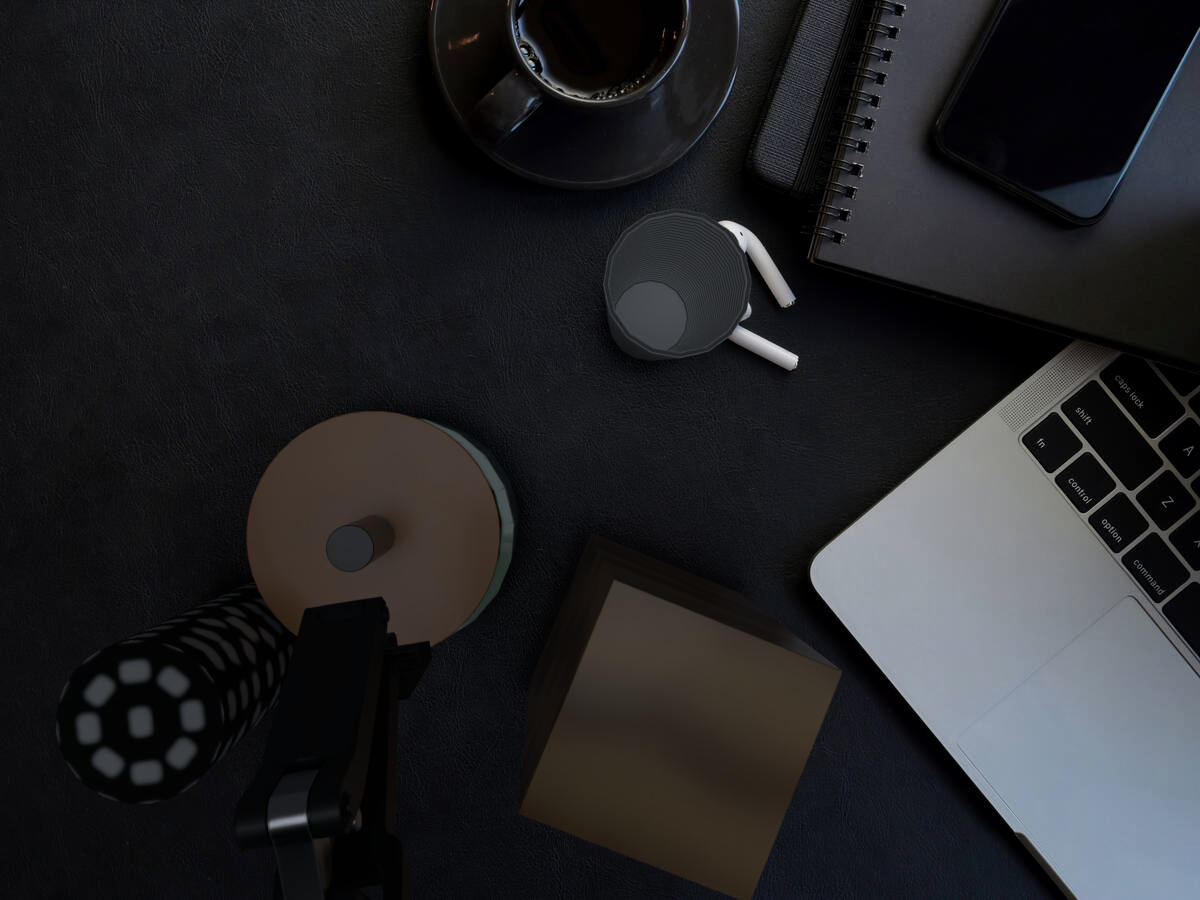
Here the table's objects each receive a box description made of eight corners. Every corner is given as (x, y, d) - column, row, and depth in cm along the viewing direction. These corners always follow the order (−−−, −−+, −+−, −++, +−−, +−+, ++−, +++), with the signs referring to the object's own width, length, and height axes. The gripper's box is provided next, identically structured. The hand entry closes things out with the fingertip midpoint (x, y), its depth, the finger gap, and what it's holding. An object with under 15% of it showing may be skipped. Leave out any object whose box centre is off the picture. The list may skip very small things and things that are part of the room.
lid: (431, 701, 59) (413, 739, 51) (205, 591, 58) (153, 613, 50) (543, 480, 59) (542, 485, 51) (319, 368, 58) (285, 356, 51)
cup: (619, 396, 68) (640, 381, 53) (572, 290, 68) (579, 244, 53) (724, 349, 69) (775, 321, 53) (677, 243, 69) (715, 184, 53)
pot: (472, 652, 68) (460, 683, 59) (283, 577, 67) (242, 597, 58) (548, 466, 68) (548, 469, 59) (361, 389, 67) (332, 381, 58)
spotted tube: (196, 589, 67) (46, 650, 47) (314, 575, 67) (214, 630, 47) (209, 704, 67) (65, 814, 47) (326, 690, 67) (233, 792, 47)
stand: (679, 744, 69) (749, 904, 45) (528, 684, 68) (517, 814, 44) (741, 593, 69) (843, 671, 45) (591, 532, 68) (613, 578, 44)
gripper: (581, 1927, 17) (561, 1109, 38) (373, 548, 17) (468, 502, 38) (156, 2033, 16) (376, 1145, 37) (-54, 615, 16) (283, 531, 38)
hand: (423, 820), depth 38 cm, fingers open, 13 cm apart
